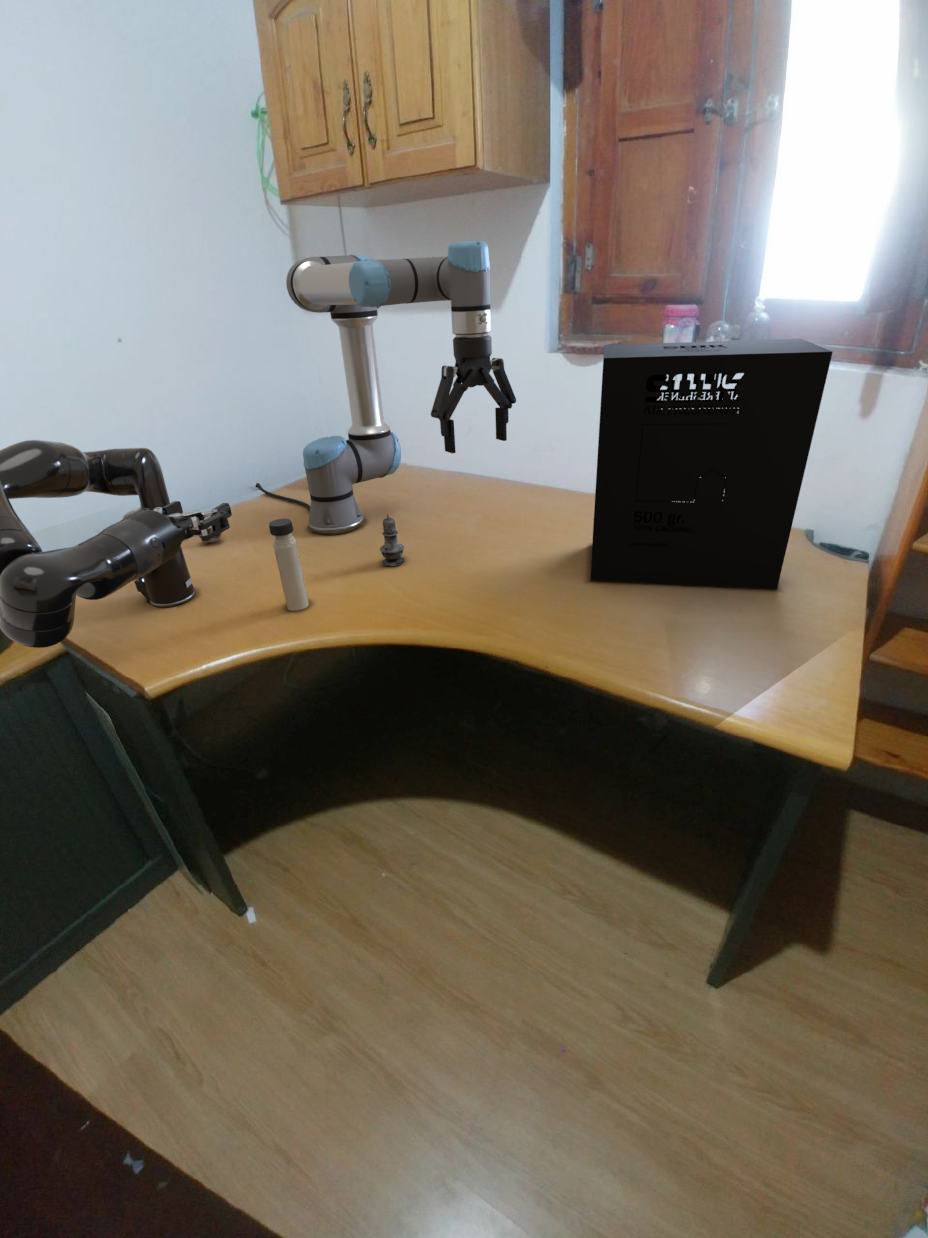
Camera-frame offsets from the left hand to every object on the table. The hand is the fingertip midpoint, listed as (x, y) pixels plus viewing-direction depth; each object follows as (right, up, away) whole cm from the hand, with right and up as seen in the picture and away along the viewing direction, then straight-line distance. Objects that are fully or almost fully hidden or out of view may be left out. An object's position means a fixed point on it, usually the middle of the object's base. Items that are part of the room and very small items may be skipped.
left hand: (204, 507), depth 96 cm
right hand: (+44, +19, +32) cm, 57 cm away
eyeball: (-27, +3, +67) cm, 73 cm away
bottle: (+6, -15, +33) cm, 37 cm away
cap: (+5, +1, +24) cm, 25 cm away
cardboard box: (+89, -6, +41) cm, 98 cm away
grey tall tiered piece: (+24, -4, +50) cm, 56 cm away
